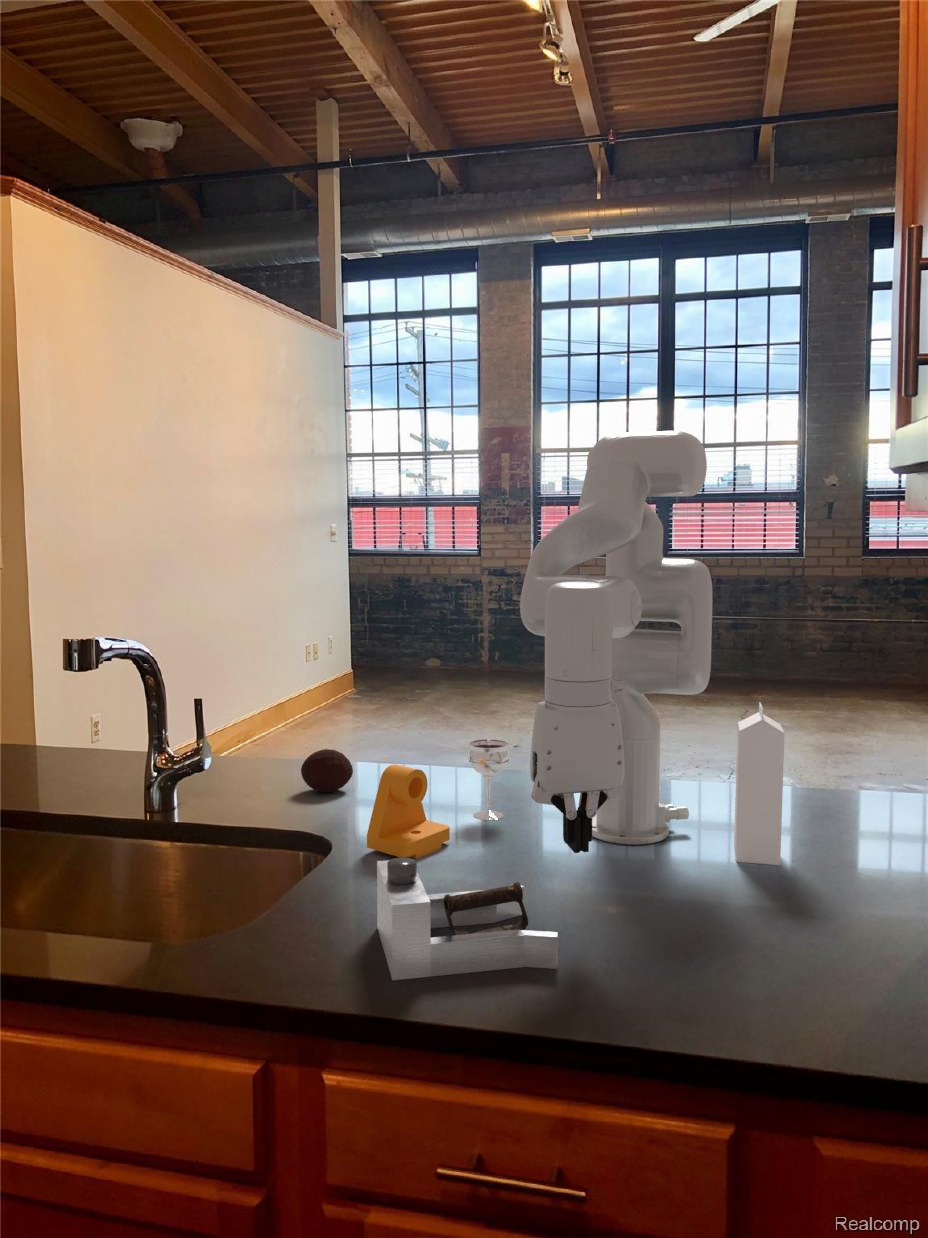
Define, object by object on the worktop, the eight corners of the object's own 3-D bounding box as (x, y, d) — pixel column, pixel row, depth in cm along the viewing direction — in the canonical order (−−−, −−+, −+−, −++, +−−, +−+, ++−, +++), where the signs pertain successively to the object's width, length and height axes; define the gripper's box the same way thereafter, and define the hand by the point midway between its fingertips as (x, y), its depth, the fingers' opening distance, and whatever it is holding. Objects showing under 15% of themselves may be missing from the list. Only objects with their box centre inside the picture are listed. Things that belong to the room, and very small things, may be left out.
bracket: (404, 864, 127) (403, 780, 126) (367, 853, 131) (366, 772, 130) (452, 844, 135) (452, 765, 134) (415, 834, 140) (415, 758, 139)
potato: (301, 786, 167) (300, 745, 166) (352, 784, 168) (351, 743, 168) (301, 799, 159) (300, 755, 158) (354, 796, 160) (354, 753, 160)
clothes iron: (546, 966, 98) (529, 886, 96) (448, 1004, 95) (428, 923, 93) (522, 933, 105) (506, 857, 102) (430, 968, 102) (411, 891, 100)
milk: (735, 862, 128) (739, 708, 126) (733, 848, 134) (736, 700, 132) (781, 866, 126) (785, 710, 124) (777, 851, 132) (781, 702, 130)
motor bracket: (521, 911, 111) (521, 831, 110) (560, 968, 96) (561, 877, 95) (376, 923, 107) (375, 841, 106) (393, 986, 92) (393, 890, 91)
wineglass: (465, 821, 146) (465, 747, 145) (469, 808, 153) (470, 738, 152) (507, 822, 146) (508, 749, 144) (510, 810, 152) (510, 739, 151)
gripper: (627, 682, 107) (625, 831, 109) (505, 689, 104) (506, 842, 106) (653, 695, 100) (651, 854, 102) (523, 702, 97) (524, 867, 99)
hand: (577, 848), depth 104 cm, fingers closed
